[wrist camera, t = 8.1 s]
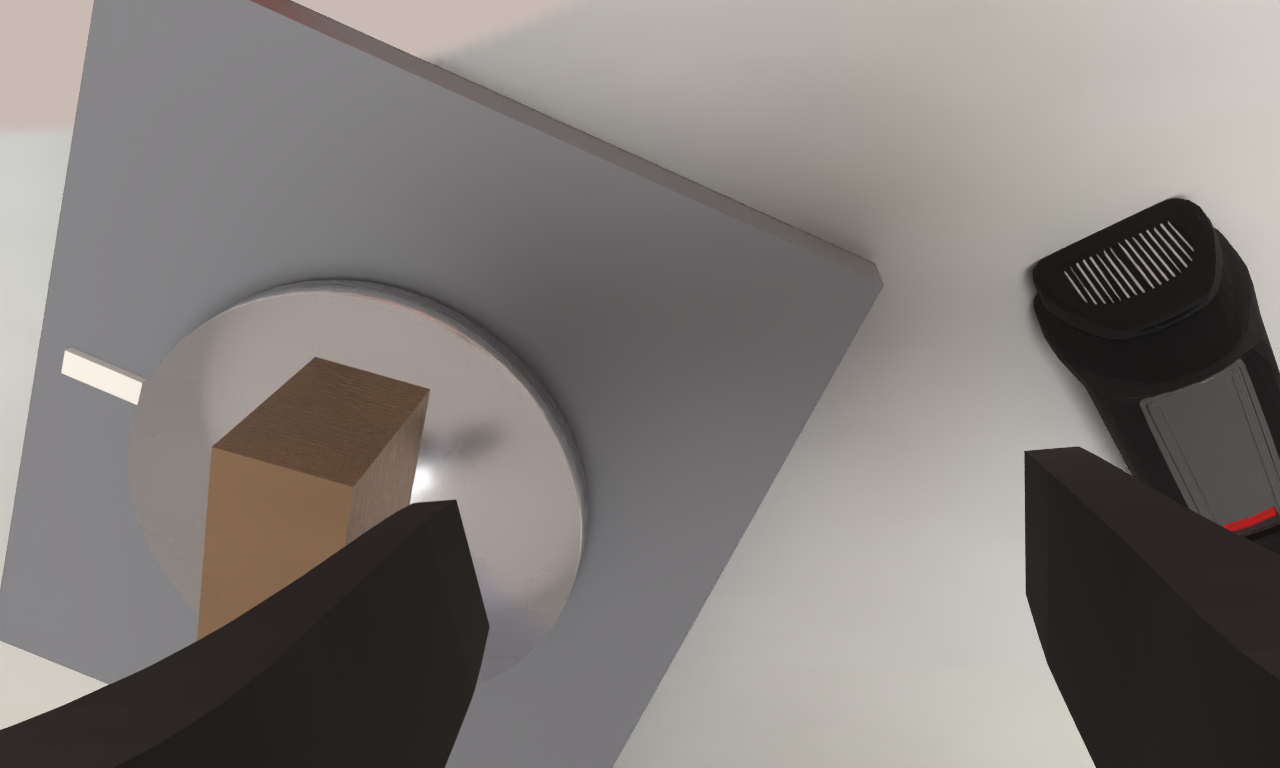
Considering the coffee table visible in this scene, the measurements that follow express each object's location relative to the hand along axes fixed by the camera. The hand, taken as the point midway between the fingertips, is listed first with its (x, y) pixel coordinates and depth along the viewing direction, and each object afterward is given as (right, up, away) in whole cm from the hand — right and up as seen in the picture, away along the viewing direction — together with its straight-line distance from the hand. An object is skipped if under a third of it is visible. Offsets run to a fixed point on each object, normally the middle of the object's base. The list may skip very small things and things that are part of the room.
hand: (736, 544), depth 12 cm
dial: (-7, 0, +9) cm, 12 cm away
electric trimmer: (+12, -1, +10) cm, 15 cm away
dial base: (-7, 0, +11) cm, 13 cm away
